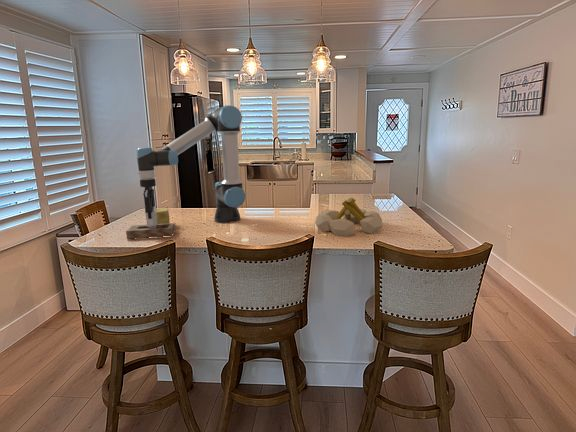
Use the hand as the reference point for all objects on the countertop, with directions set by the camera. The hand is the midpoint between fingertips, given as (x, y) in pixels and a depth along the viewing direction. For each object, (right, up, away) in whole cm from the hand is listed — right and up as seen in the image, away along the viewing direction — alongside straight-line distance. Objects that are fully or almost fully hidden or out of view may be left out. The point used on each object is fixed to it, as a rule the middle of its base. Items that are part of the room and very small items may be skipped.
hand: (152, 223), depth 209 cm
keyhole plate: (0, -6, +1) cm, 6 cm away
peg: (0, -5, +1) cm, 5 cm away
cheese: (-1, -3, +19) cm, 19 cm away
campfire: (+102, -3, +4) cm, 102 cm away
